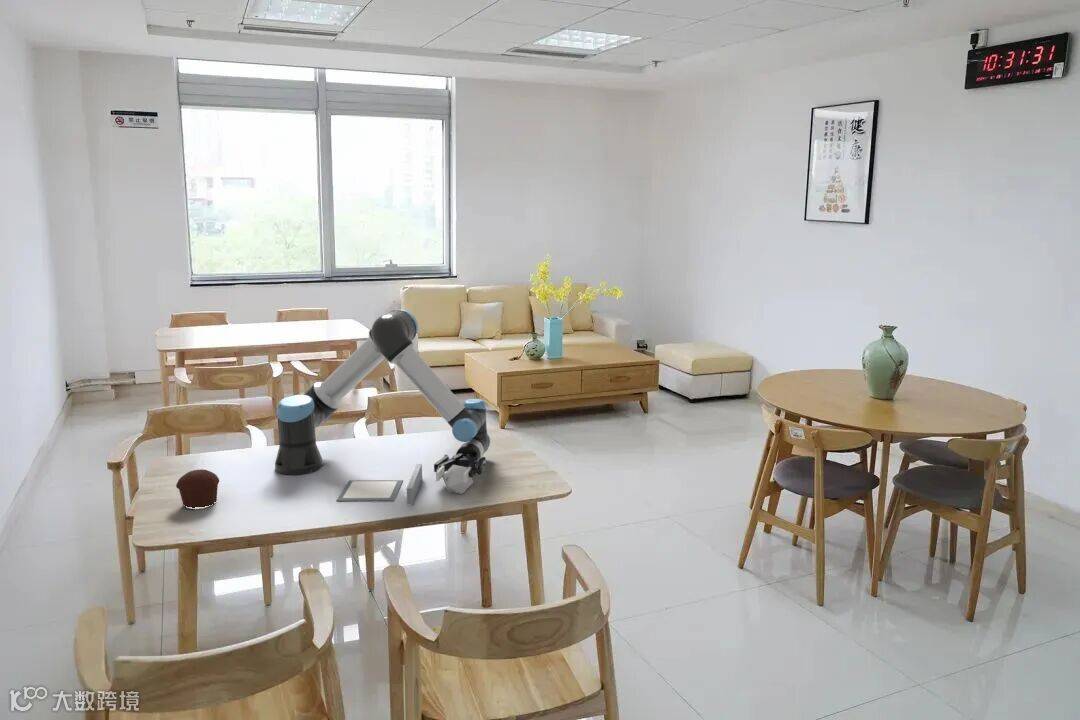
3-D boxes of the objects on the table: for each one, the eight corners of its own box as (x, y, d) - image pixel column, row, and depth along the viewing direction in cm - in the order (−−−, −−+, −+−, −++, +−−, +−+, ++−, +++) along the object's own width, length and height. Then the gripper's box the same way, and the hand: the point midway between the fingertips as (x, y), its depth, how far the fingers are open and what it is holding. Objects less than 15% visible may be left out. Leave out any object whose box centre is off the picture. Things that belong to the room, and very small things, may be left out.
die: (445, 487, 248) (434, 470, 242) (469, 472, 250) (458, 454, 243) (456, 504, 242) (445, 486, 236) (480, 488, 244) (469, 470, 238)
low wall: (407, 504, 233) (406, 488, 232) (417, 478, 255) (416, 463, 254) (412, 504, 233) (412, 488, 232) (422, 478, 255) (421, 463, 254)
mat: (336, 501, 235) (336, 499, 235) (349, 481, 252) (348, 479, 252) (394, 501, 235) (393, 499, 235) (402, 481, 252) (402, 479, 252)
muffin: (215, 494, 241) (213, 462, 239) (226, 505, 232) (223, 472, 230) (173, 502, 234) (170, 470, 232) (182, 514, 225) (179, 481, 223)
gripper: (500, 466, 259) (484, 491, 237) (439, 463, 263) (418, 487, 240) (500, 444, 258) (484, 467, 236) (438, 441, 261) (417, 463, 239)
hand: (450, 477), depth 238 cm, fingers closed on die, 8 cm apart
